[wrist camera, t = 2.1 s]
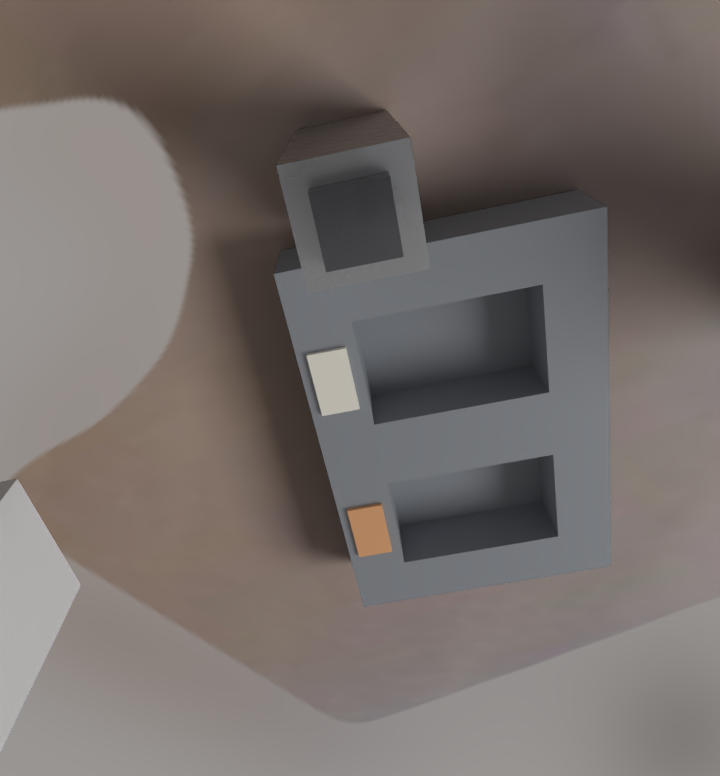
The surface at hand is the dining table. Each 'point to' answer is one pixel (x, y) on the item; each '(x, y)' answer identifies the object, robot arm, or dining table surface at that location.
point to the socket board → (467, 401)
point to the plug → (353, 201)
